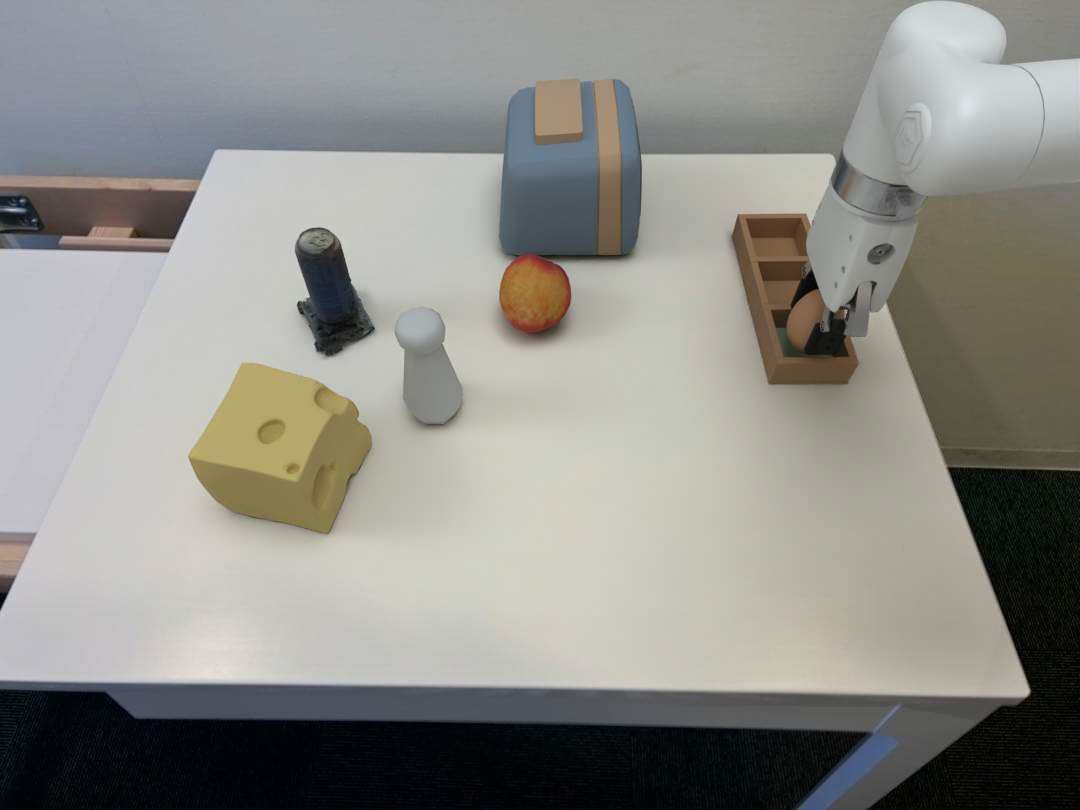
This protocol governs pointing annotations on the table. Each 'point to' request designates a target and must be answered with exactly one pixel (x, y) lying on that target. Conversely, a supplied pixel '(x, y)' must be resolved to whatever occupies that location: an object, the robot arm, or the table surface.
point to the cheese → (281, 448)
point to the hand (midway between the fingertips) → (812, 328)
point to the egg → (806, 318)
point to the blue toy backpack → (571, 170)
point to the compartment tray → (782, 298)
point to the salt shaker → (427, 367)
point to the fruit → (534, 293)
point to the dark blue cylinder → (329, 291)
